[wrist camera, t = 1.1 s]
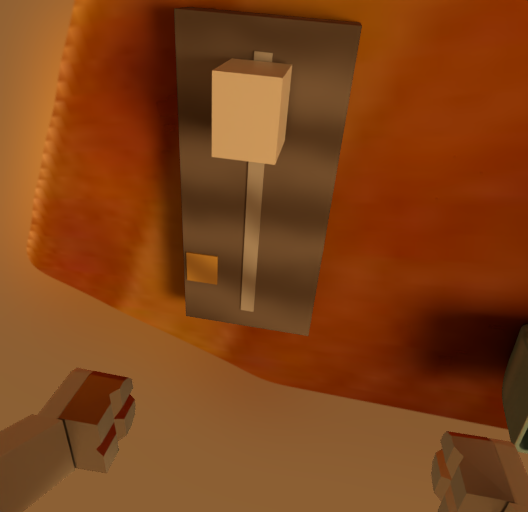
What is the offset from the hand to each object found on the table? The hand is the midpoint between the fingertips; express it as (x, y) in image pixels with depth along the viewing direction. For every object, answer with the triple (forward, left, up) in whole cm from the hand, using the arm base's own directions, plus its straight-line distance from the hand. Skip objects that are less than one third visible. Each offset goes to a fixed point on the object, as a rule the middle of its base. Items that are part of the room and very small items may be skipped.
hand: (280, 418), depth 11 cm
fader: (-3, -5, -23) cm, 23 cm away
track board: (+5, -5, -26) cm, 27 cm away
